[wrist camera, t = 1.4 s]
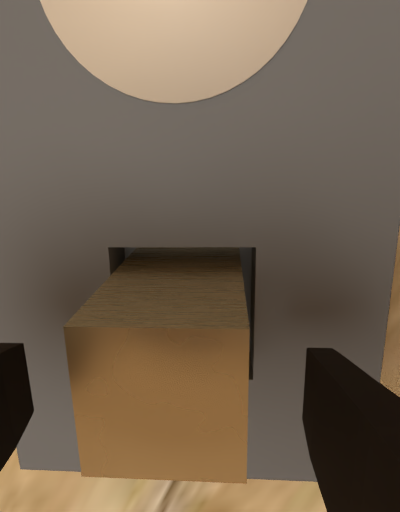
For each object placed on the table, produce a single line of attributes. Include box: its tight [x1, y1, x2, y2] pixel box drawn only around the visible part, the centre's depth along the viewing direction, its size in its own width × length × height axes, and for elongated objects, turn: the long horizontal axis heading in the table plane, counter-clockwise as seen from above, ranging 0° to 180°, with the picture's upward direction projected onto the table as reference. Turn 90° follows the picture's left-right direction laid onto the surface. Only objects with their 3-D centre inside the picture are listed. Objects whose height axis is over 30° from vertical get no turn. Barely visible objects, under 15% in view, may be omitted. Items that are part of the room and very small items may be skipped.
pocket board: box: [0, 0, 400, 482], centre depth 13 cm, size 14×24×3 cm, turn 1°
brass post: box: [63, 247, 250, 483], centre depth 12 cm, size 4×4×7 cm
